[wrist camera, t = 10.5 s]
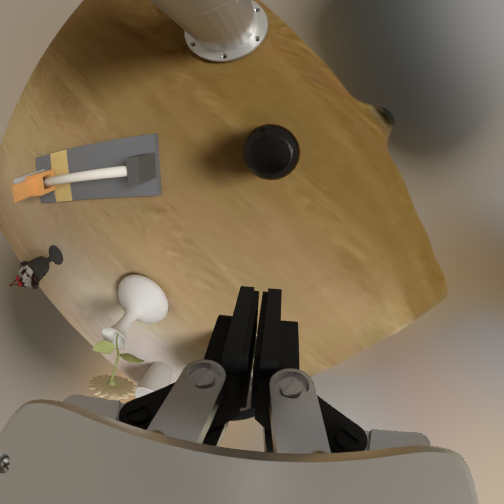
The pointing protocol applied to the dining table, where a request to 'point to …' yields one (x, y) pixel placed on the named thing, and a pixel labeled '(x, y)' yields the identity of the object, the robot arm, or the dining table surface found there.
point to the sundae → (37, 268)
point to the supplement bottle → (271, 152)
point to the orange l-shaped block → (32, 186)
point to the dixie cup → (154, 379)
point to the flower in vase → (136, 308)
